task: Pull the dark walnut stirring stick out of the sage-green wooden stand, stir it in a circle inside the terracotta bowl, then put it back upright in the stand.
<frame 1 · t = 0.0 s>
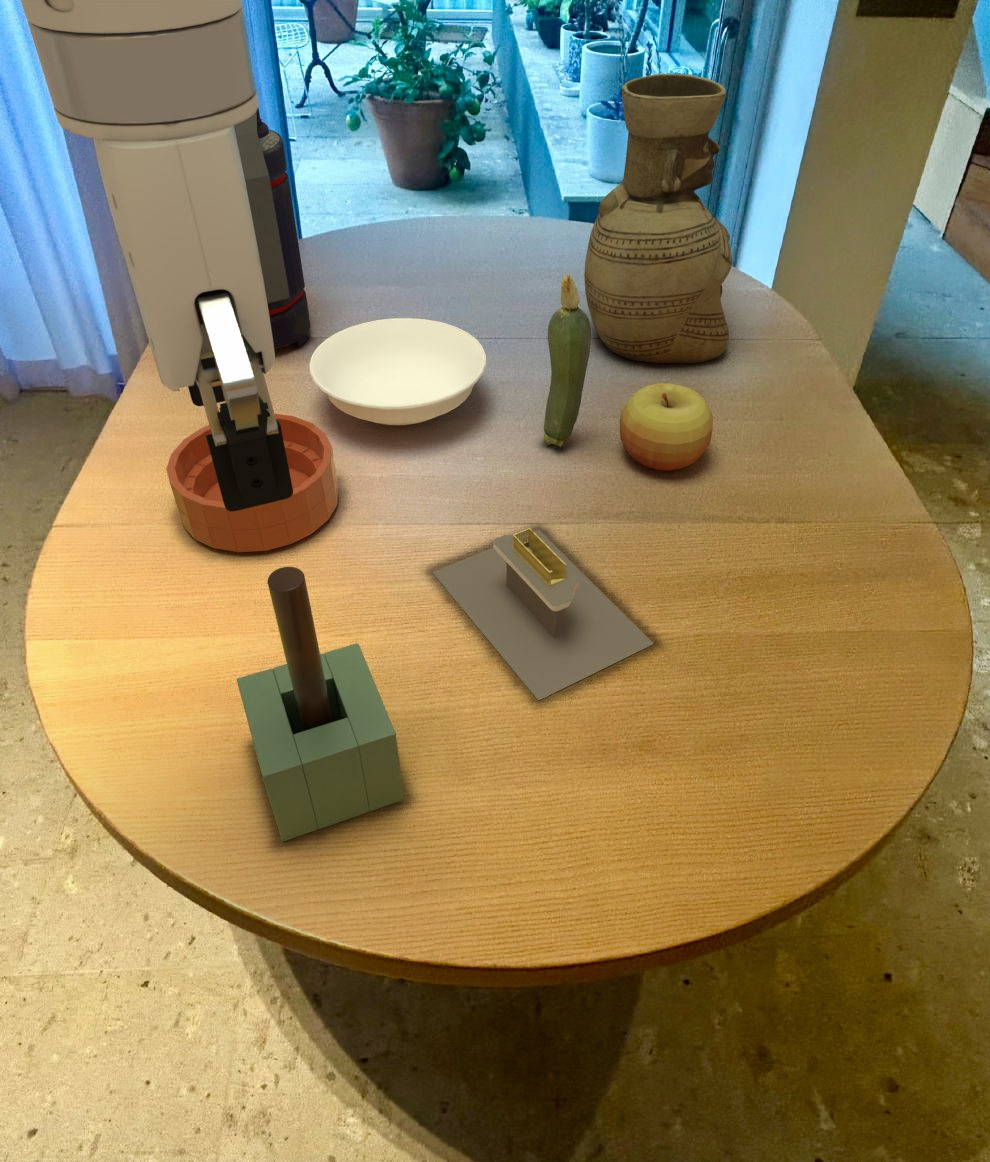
hand: (239, 446, 45), 30 cm above the table, tool pointing down, fingers open, 9 cm apart
mixing bowl: (261, 505, 90), on the table
stick: (309, 686, 60), in the stand
apple: (660, 457, 97), on the table
bowl: (402, 409, 104), on the table
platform: (538, 608, 80), on the table
ceramic vessel: (650, 342, 116), on the table
vegetable: (562, 446, 98), on the table
stand: (328, 772, 67), on the table
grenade: (268, 341, 115), on the table
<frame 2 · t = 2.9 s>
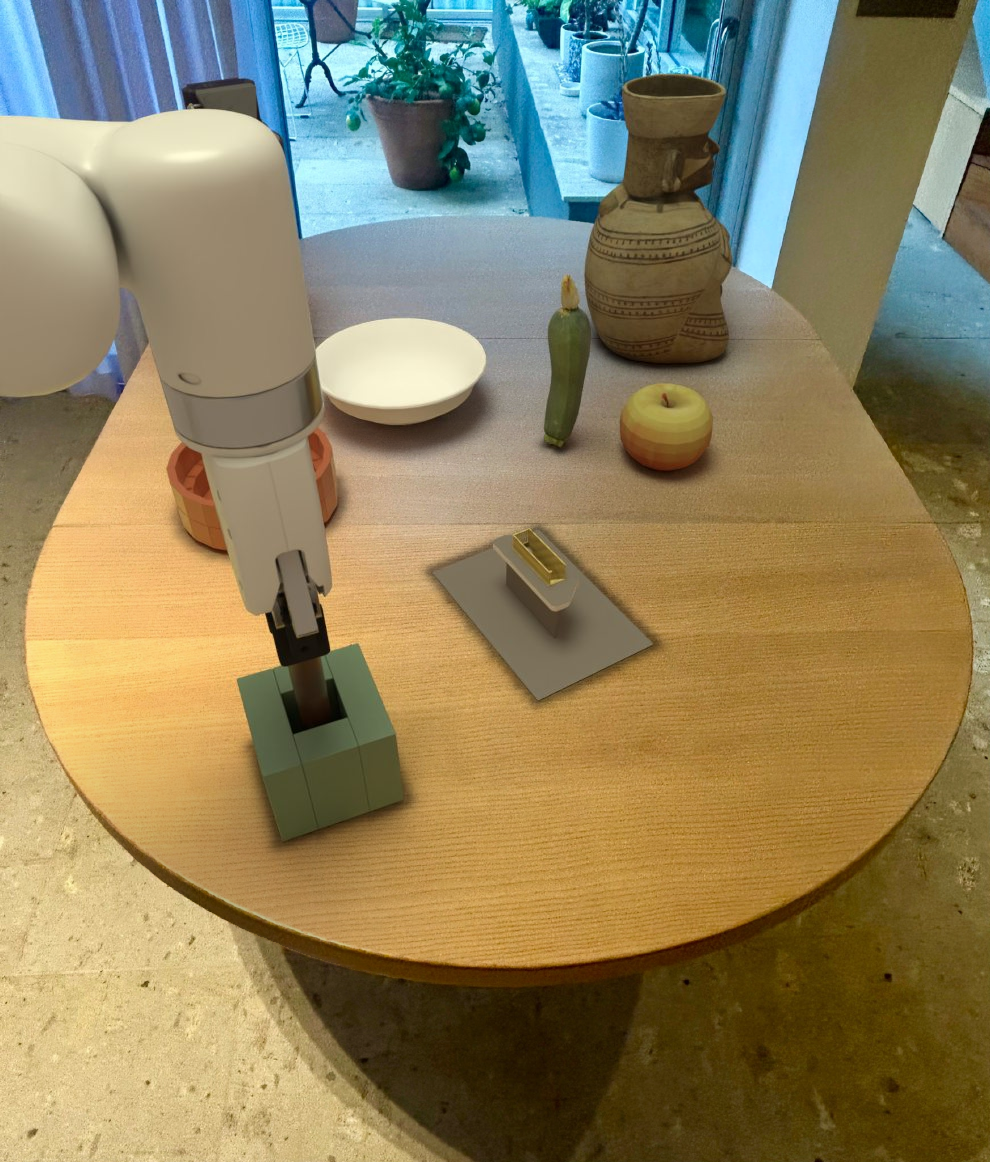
hand: (299, 640, 57), 15 cm above the table, tool pointing down, fingers closed on stick, 2 cm apart
stick: (309, 686, 60), in the stand, touching gripper
everything else where it was.
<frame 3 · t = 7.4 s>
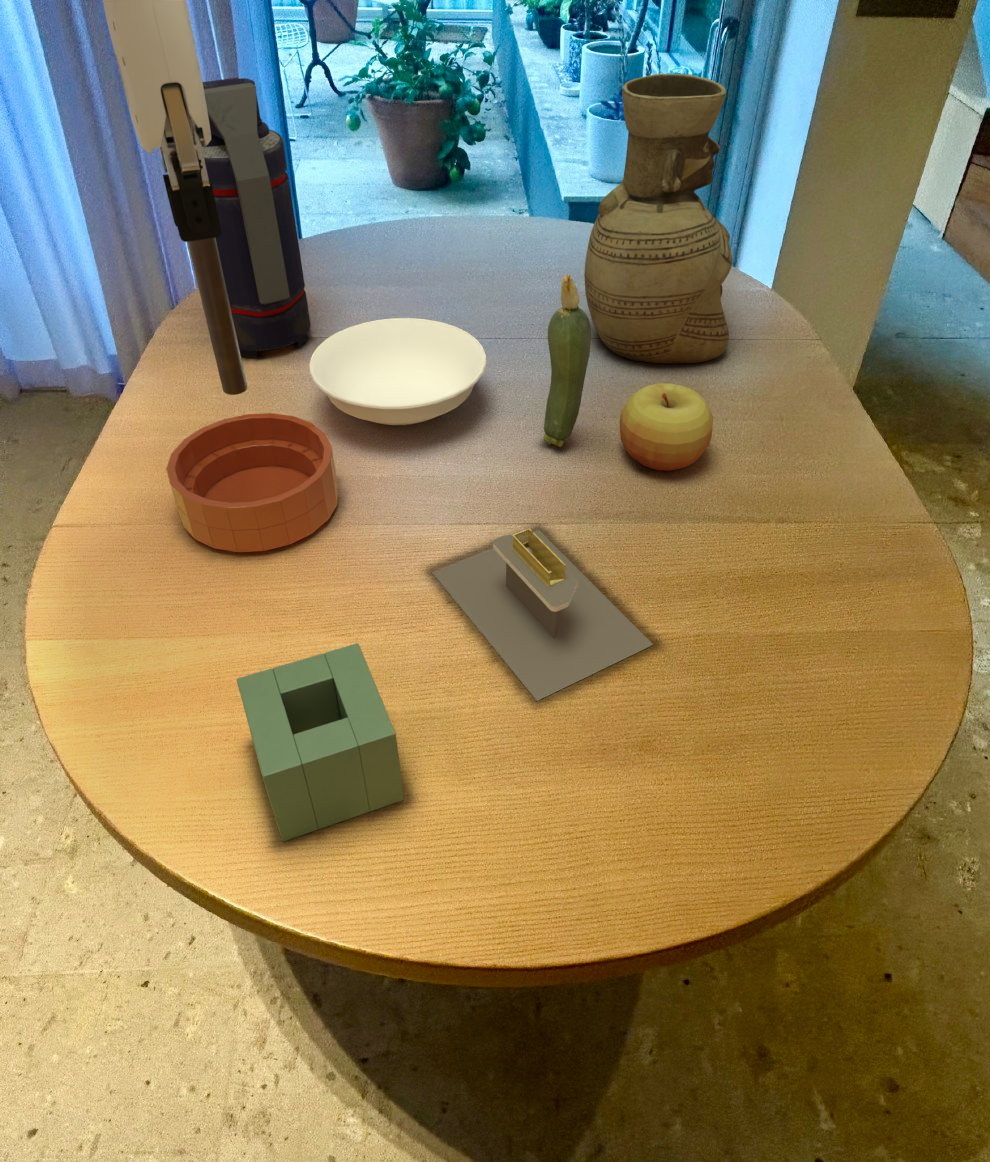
hand: (198, 229, 71), 28 cm above the table, tool pointing down, fingers closed on stick, 2 cm apart
stick: (211, 283, 74), point 24 cm above the table, touching gripper
everything else where it was.
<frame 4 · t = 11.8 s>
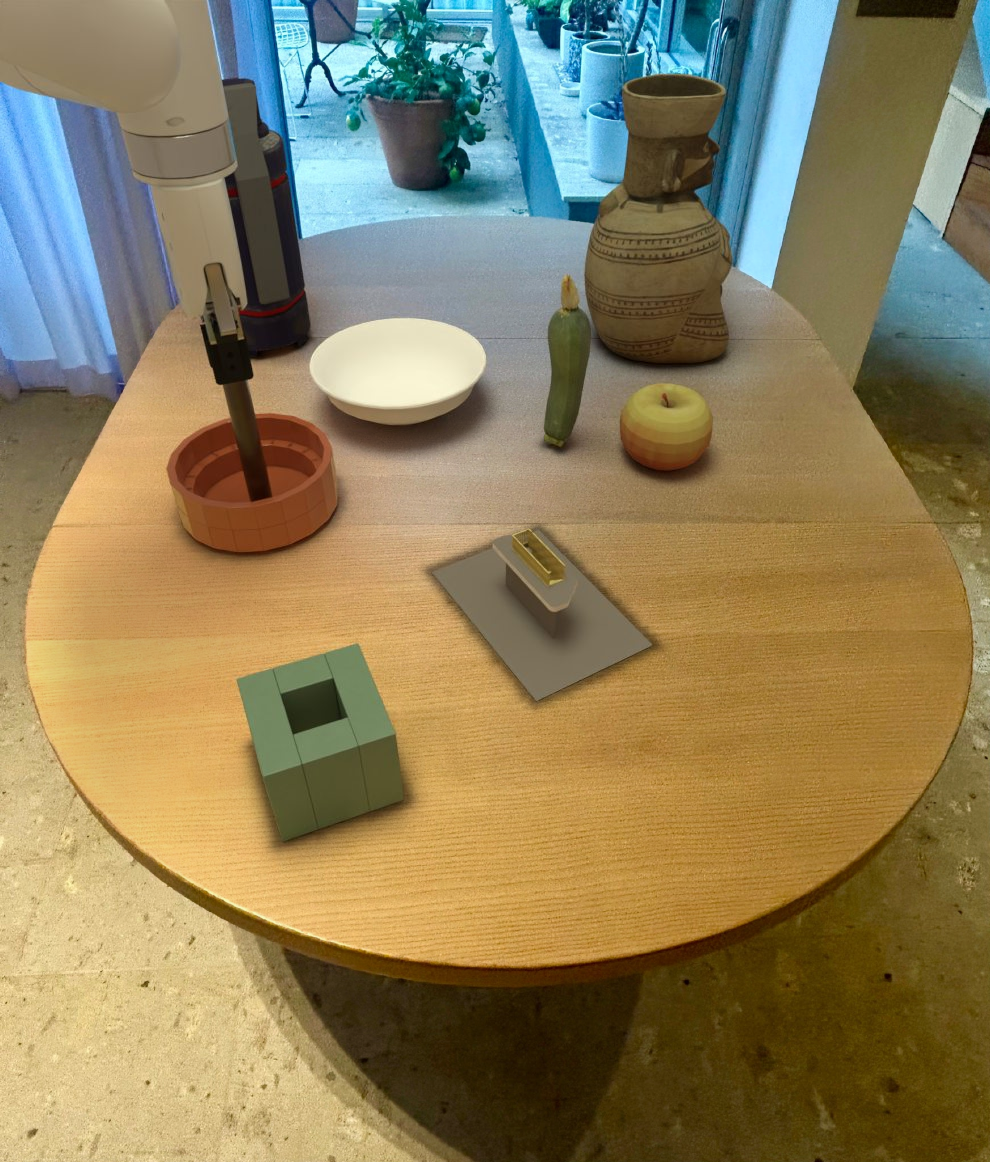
hand: (231, 371, 77), 17 cm above the table, tool pointing down, fingers closed on stick, 2 cm apart
stick: (242, 415, 80), point 12 cm above the table, touching gripper
everything else where it was.
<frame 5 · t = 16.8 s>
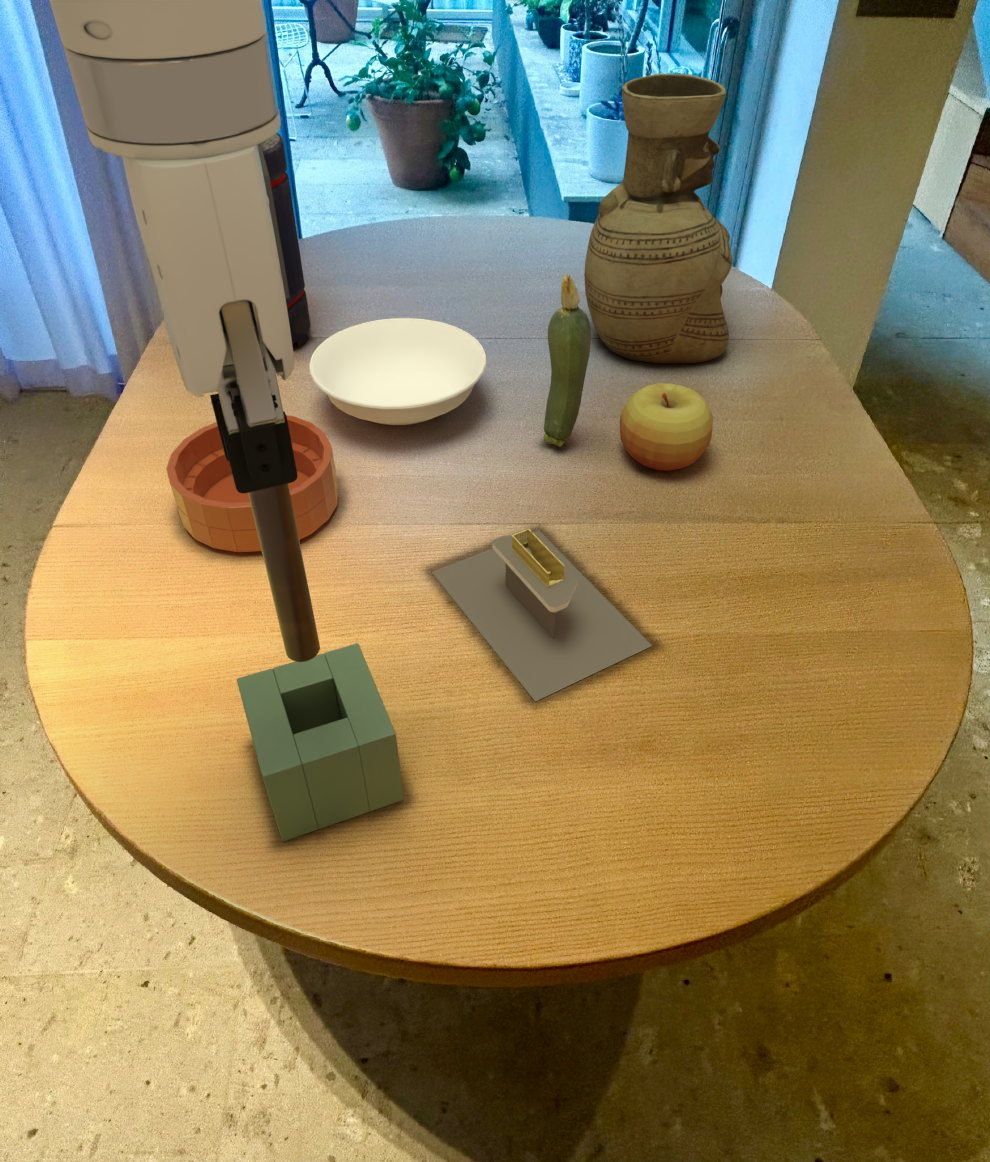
hand: (261, 467, 48), 28 cm above the table, tool pointing down, fingers closed on stick, 2 cm apart
stick: (277, 531, 51), point 24 cm above the table, touching gripper
everything else where it was.
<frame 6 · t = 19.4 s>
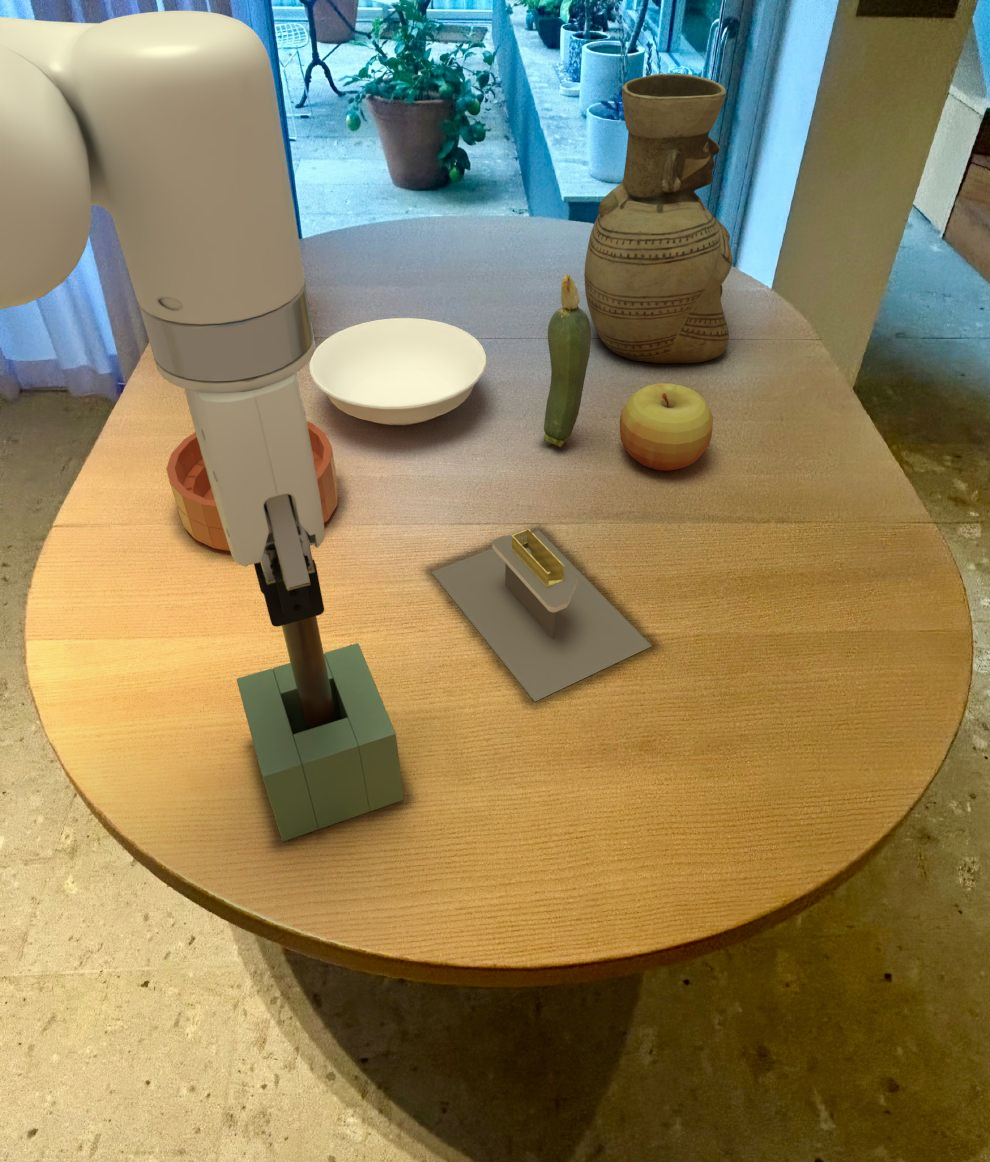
hand: (292, 600, 54), 18 cm above the table, tool pointing down, fingers closed on stick, 2 cm apart
stick: (305, 649, 57), point 14 cm above the table, touching gripper
everything else where it was.
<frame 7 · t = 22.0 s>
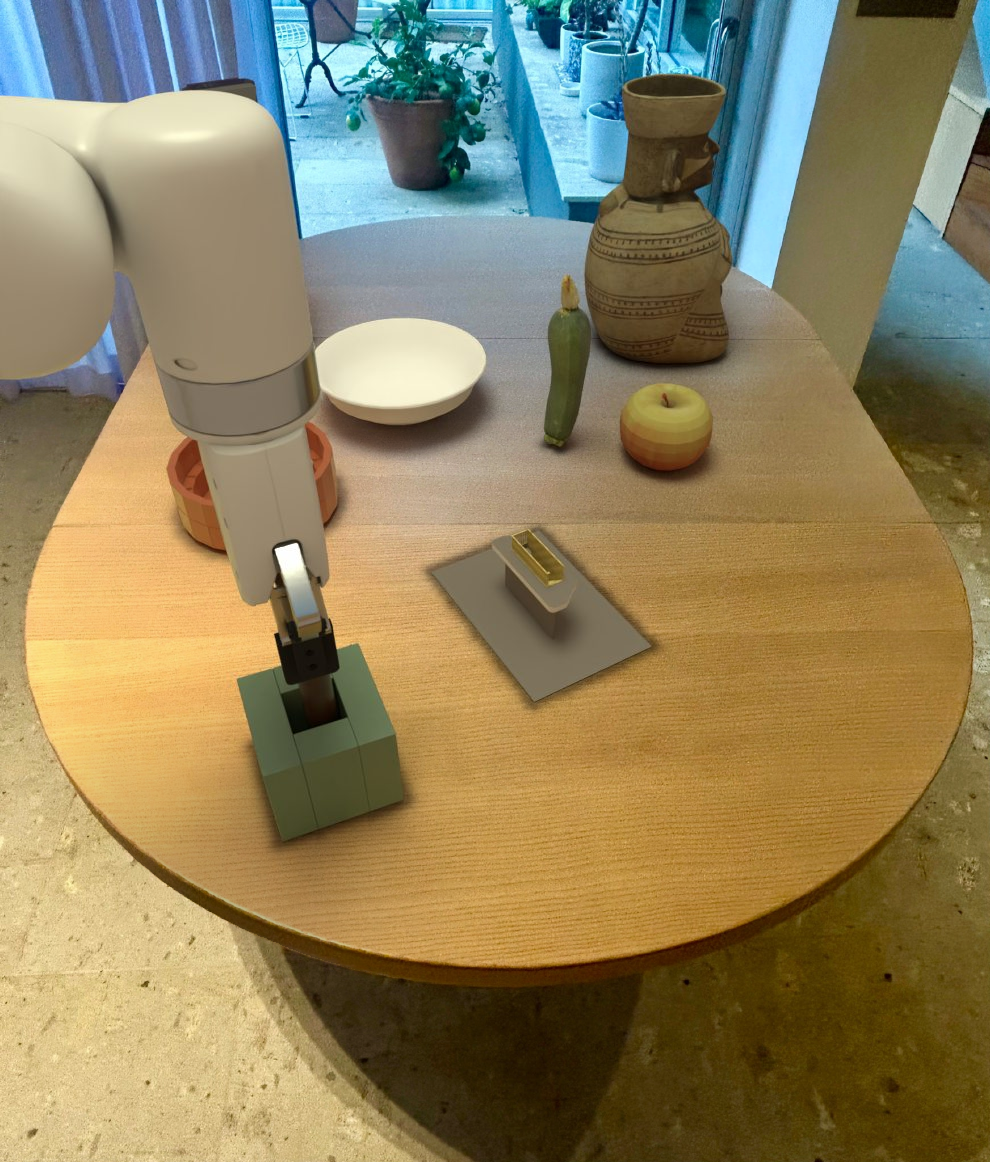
hand: (293, 620, 55), 16 cm above the table, tool pointing down, fingers open, 9 cm apart
stick: (315, 684, 60), in the stand
everything else where it was.
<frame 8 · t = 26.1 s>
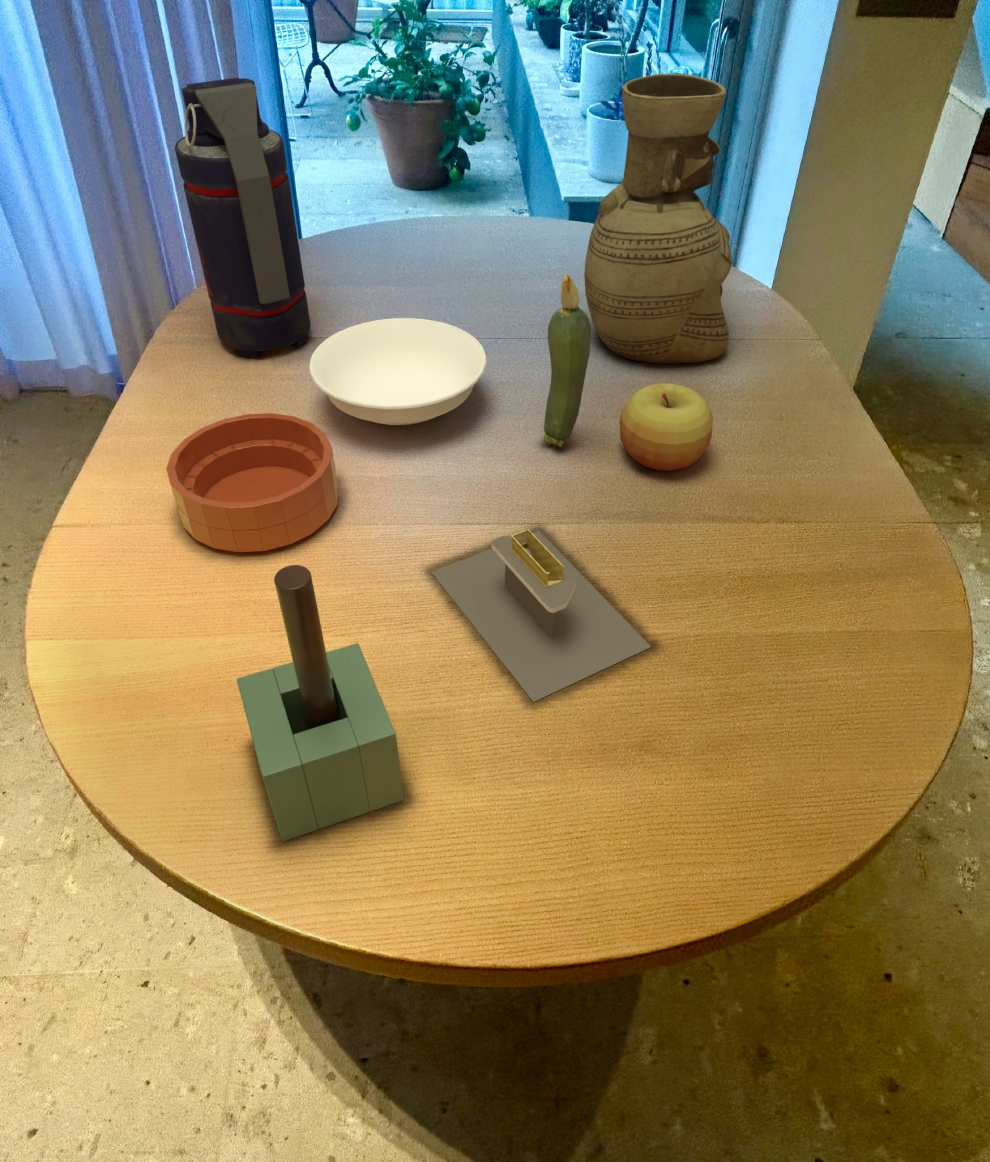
nothing on the table moved.
at the end: stick 0.4 cm off-centre in the stand, point 10.0 cm above the stand's base; stick tilted 0°; stick touching table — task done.
